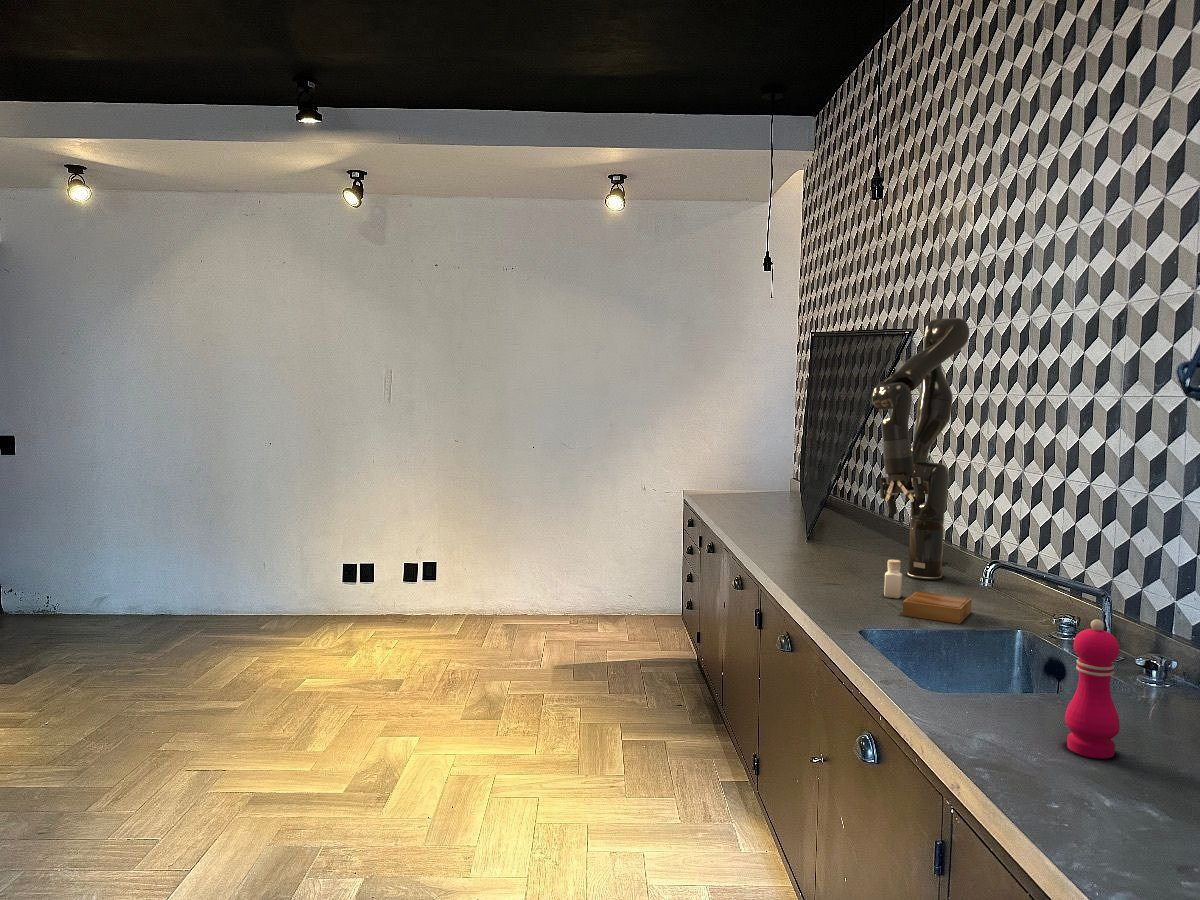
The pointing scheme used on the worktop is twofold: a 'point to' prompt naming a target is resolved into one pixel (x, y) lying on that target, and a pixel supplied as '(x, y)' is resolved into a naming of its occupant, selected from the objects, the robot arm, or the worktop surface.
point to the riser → (937, 607)
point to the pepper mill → (1093, 695)
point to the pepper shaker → (893, 580)
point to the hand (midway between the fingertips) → (904, 514)
